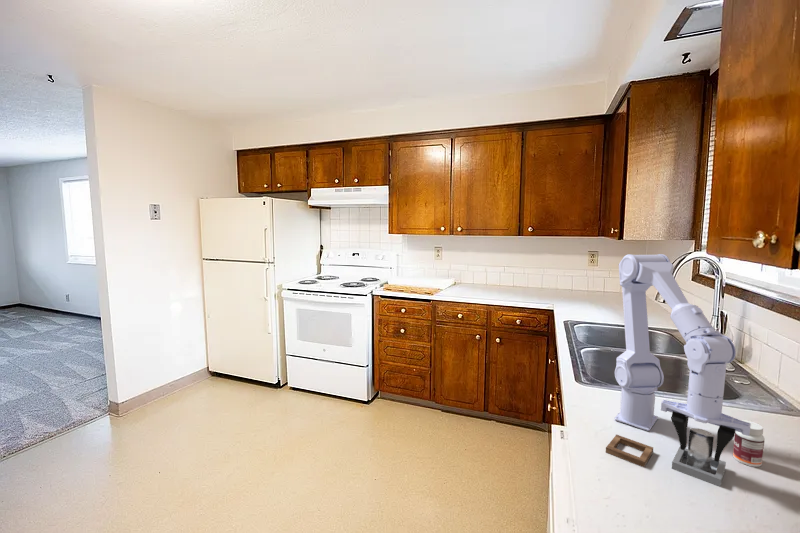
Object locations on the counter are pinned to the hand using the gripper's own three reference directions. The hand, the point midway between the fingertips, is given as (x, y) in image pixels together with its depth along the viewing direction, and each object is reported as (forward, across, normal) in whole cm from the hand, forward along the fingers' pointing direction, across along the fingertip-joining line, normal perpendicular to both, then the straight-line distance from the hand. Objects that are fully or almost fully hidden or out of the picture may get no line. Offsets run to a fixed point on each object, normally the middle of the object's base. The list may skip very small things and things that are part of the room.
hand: (699, 453), depth 81 cm
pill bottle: (+4, +7, +11) cm, 14 cm away
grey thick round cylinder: (+3, 0, 0) cm, 3 cm away
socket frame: (+3, -12, -4) cm, 13 cm away
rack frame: (+3, 0, 0) cm, 3 cm away
